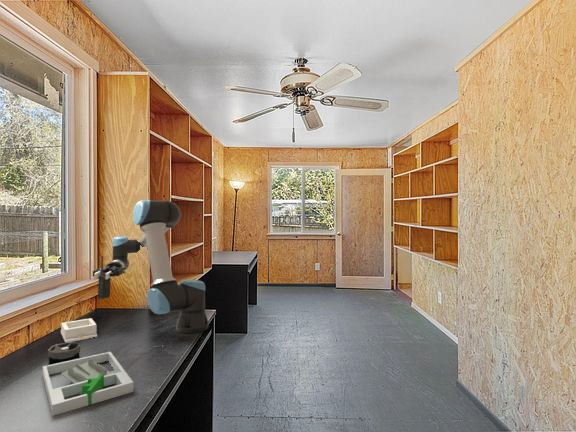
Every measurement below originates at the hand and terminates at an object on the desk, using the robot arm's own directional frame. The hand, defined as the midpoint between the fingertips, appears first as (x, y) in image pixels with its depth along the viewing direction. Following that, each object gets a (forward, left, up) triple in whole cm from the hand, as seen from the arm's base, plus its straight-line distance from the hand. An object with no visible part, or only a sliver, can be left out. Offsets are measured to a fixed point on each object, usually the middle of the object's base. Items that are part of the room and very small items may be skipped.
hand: (100, 276), depth 158 cm
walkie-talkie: (+5, -2, -11) cm, 12 cm away
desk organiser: (-48, +13, -26) cm, 56 cm away
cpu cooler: (-24, +17, -27) cm, 40 cm away
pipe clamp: (-58, +13, -26) cm, 65 cm away
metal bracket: (-46, +12, -27) cm, 54 cm away
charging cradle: (+4, +8, -26) cm, 28 cm away
